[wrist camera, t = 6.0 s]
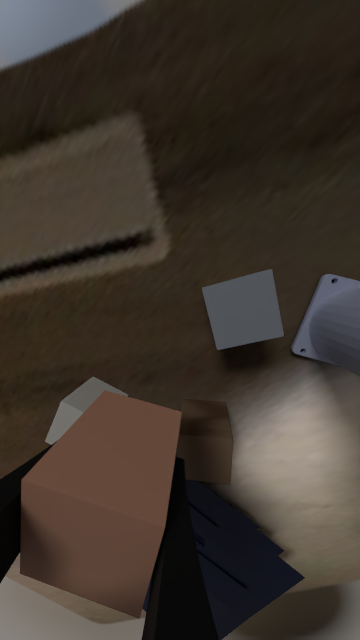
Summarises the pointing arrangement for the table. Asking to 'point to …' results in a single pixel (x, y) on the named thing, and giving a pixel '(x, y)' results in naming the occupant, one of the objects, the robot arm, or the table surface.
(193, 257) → the table surface
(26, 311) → the table surface
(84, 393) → the offwhite cube
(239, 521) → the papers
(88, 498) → the terracotta cube
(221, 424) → the walnut cube
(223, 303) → the slate cube
